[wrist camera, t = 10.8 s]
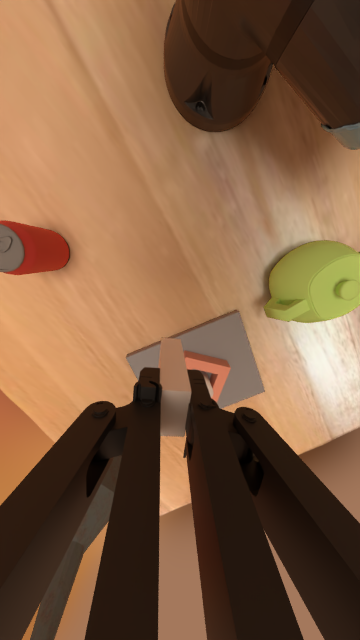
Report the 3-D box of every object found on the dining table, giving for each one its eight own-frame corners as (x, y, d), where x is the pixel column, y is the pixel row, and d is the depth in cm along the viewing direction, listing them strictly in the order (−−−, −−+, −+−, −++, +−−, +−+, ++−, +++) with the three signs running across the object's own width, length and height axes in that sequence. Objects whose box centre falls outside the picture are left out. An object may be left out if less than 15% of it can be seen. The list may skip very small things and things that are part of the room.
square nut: (184, 350, 41) (185, 357, 39) (226, 360, 43) (230, 367, 40) (162, 414, 46) (162, 425, 43) (201, 422, 47) (204, 432, 44)
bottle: (126, 447, 50) (77, 708, 21) (84, 442, 48) (-31, 714, 20) (134, 412, 47) (88, 658, 18) (89, 406, 45) (-36, 661, 17)
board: (236, 309, 41) (251, 320, 34) (261, 387, 47) (279, 410, 40) (127, 354, 42) (119, 374, 35) (165, 424, 48) (166, 454, 41)
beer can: (79, 254, 36) (40, 253, 25) (52, 277, 37) (2, 287, 26) (49, 221, 34) (-8, 204, 23) (21, 246, 35) (-47, 242, 24)
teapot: (334, 219, 38) (414, 203, 26) (352, 283, 42) (429, 294, 30) (237, 275, 39) (269, 284, 27) (263, 332, 43) (302, 361, 31)
